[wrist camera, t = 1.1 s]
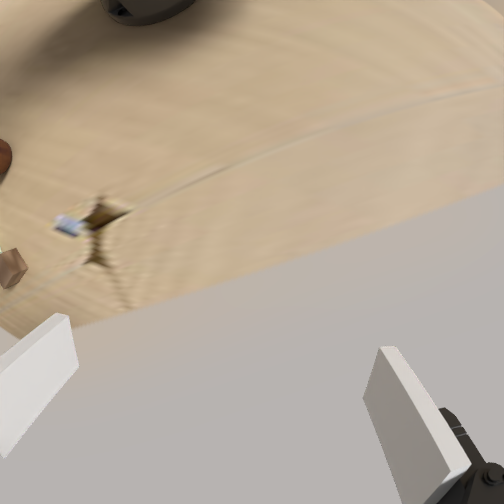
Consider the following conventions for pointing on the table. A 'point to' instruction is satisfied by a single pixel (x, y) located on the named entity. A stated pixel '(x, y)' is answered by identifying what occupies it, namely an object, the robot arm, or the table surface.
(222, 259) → the table surface
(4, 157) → the wooden figurine
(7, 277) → the walnut cube
